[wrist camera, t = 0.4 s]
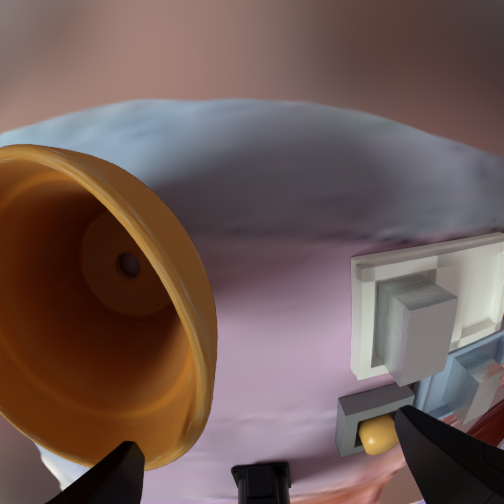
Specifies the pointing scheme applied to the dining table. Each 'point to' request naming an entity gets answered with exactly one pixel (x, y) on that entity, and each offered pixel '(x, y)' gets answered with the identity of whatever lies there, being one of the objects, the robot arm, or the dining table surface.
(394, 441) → the button
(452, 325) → the block
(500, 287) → the white divided tray
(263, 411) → the dining table surface
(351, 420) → the grey square frame
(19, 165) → the flower pot
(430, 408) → the tray
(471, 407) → the billet
